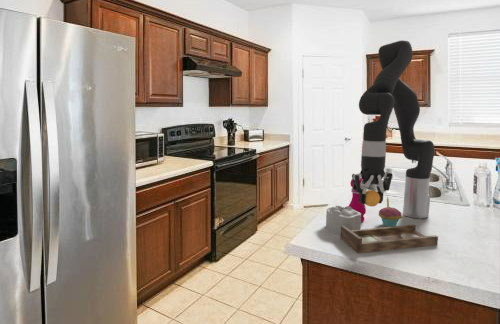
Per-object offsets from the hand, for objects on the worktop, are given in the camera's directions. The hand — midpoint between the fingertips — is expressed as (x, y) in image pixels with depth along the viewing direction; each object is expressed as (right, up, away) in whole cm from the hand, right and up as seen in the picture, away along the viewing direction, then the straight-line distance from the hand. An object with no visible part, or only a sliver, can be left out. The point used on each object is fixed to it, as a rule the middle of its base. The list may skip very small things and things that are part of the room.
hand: (370, 203), depth 112 cm
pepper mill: (+4, -11, +26) cm, 29 cm away
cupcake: (+15, -12, +21) cm, 28 cm away
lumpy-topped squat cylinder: (-6, -13, +16) cm, 21 cm away
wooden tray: (+7, -14, +4) cm, 16 cm away
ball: (0, +2, 0) cm, 2 cm away
